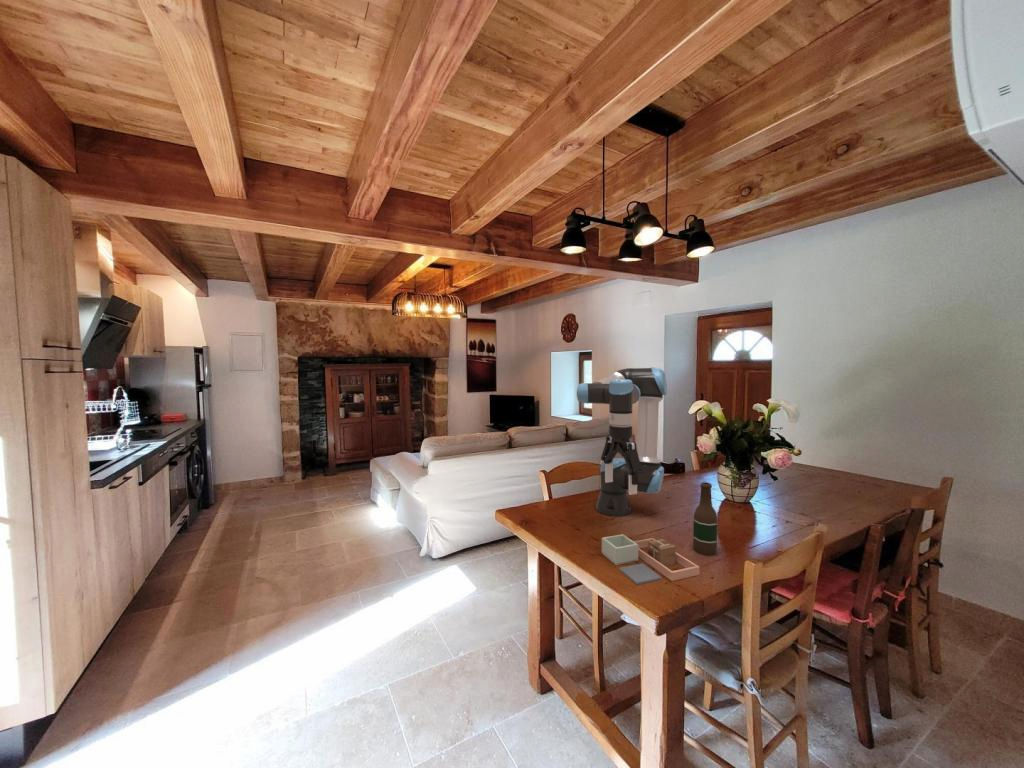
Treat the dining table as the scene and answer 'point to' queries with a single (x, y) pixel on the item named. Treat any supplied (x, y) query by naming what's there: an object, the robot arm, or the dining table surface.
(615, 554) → the mint green open box
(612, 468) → the robot arm
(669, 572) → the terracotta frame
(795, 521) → the dining table surface
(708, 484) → the beer bottle
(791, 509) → the dining table surface
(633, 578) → the slate coaster
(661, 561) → the letter cube
